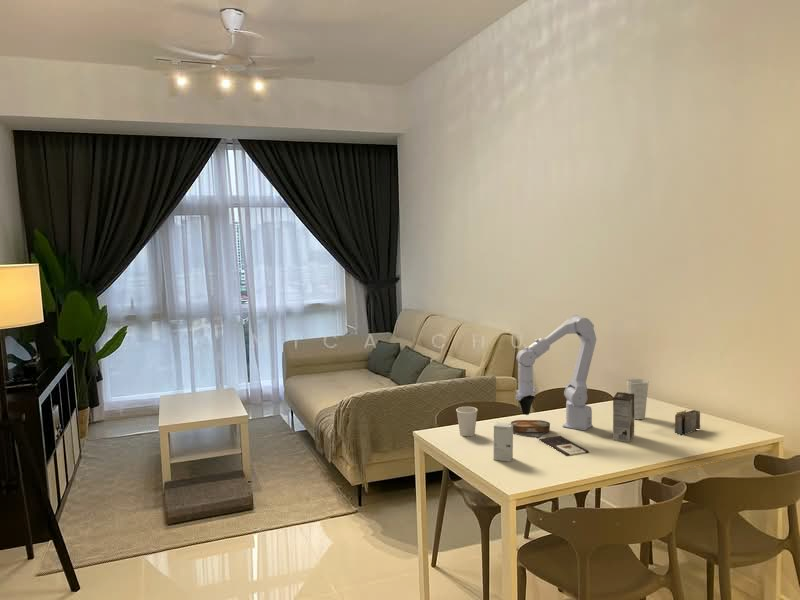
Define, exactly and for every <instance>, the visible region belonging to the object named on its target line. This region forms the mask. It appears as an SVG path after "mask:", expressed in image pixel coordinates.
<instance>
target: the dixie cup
mask: <svg viewBox="0 0 800 600" xmlns="http://www.w3.org/2000/svg"><path fill="white" fill-rule="evenodd" d="M455 411H456V415H457V422H458V423H457V424H458V429H459V435H460V436H461V435H462V436H461V437H464V436H471V437H474V436H475V434H476V426H477V416H478V408H476V407H473V406H460V407H458V408H456V409H455Z"/></svg>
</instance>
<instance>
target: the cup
mask: <svg viewBox="0 0 800 600" xmlns="http://www.w3.org/2000/svg"><path fill="white" fill-rule="evenodd" d="M626 388H627V389H626V391H627V392H626V393H629V394H634V420H635V419H643V420H645V419H646V412H647V411H646V410H647V401H648V400H647V399H648V390H649V381H648V380H647V379H642V378H630V379H629V378H628V379H626Z"/></svg>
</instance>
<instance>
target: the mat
mask: <svg viewBox="0 0 800 600" xmlns="http://www.w3.org/2000/svg"><path fill="white" fill-rule="evenodd" d="M513 433H514V434H515V435H520V436H524V435H525V437H529V436H530V437H531V438H535V437H536V439H538V438H540V437H542V436H543V435H545V434H546V433H547V432H543V433H522V432H515V431H513ZM544 433H545V434H544ZM514 434H513V435H514ZM541 435H542V436H541Z"/></svg>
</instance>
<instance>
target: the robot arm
mask: <svg viewBox="0 0 800 600" xmlns="http://www.w3.org/2000/svg"><path fill="white" fill-rule="evenodd" d="M594 328H595V325H594V324H593V322H592V321H591V320H590V319H589V318H587V317H582V316H581V315H577V314H576V315H575V314H574V315H572V316H570V318H568V319H565V320H564V322H563V323H561V324H560V325H559V326H558V327H557V328H555V330H553V331H552V332H551V333H549V334H548V335H547V336H546V337H539V338H536V339H534V342H533V343H531V344H530V345H528V346H525V347H524V349H521V350H519V351H518V352H517V354H516V357H515V359H516V361H517V363H518V365H517V366H518V368H517V370H518V371H517V372H518V375H517V377H518V381H517V382H518V389H516V390H515V393H516V394H515V398H514V399H515V401H518V403H519V405H520V408H521V411H522V415H523V416H524V415H525V416H526V415H527V416H528V415H530V412H531V408H532V404H533V401H534V400H535V398H536V397H535V396H534V394H536V393H537V388H536V387H534V364H535V362H536V360H537V359H538V358H540V357H541V356H543V355H544V354H545V353H547V352H548V351H549V350H550V348H551V345H553V344H554V343H555V342H557V341H558V340H560V339H561V338H563V337H564V336H566V335H569V334H570V335H572V334H573V335H575V334H576V335H577V336H578V337H579V339H580V340H581V342H580V346H579V351H578V353H577V354H578V355H577V358H576V362H575V366H574V370H573V374H572V378H571V379H570V380H569V381H568V385H567V386H566V387H565V389H564V392H563V396H564V398H565V399H566V402H565V403H566V404H565V407H566V409H565V413H566V417H565V418H566V419H565V423H564V424H562V427H563V428H568V429H574V430H581V431H587V430H589V428H591V427H592V426H593V422H592V421H593V416H592V415H593V411H592V409H593V408H592V407H591V406H589V405H587V404H586V403H587V402H588V394H587V392H588V386H587V379H588V375H589V372H590V367H591V363H592V360H593V359H592V358H593V355H594V351H595V347H596V342H597V334H596V332H595V329H594Z"/></svg>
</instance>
